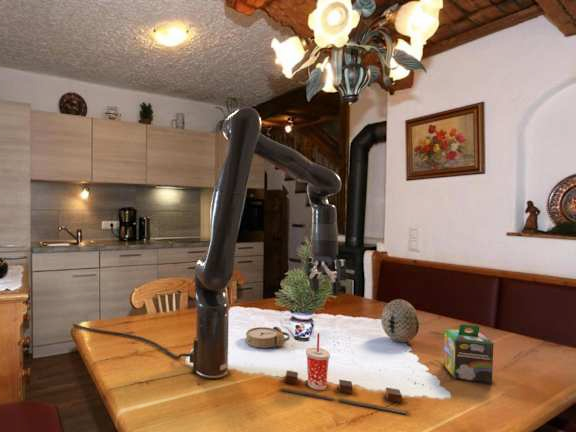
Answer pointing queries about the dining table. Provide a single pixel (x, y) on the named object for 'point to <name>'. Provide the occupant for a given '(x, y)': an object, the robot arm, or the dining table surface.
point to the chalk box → (468, 354)
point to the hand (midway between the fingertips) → (325, 293)
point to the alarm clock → (266, 337)
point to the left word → (293, 378)
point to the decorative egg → (400, 320)
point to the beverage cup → (317, 366)
